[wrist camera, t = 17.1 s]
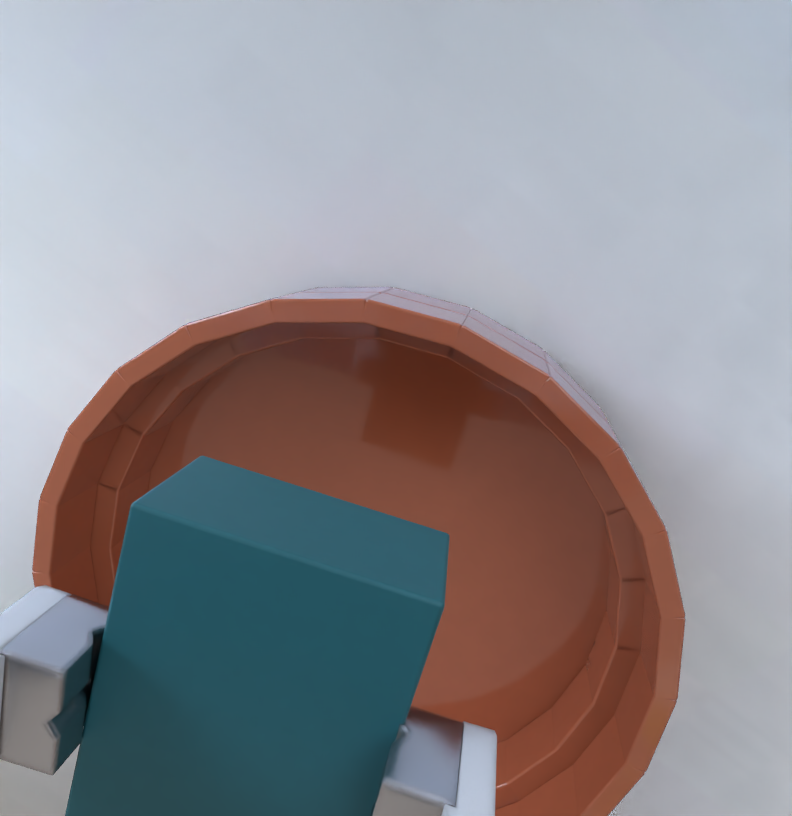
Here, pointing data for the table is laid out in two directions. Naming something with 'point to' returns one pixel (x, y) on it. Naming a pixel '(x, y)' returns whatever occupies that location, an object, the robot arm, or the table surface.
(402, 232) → the table surface
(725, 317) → the table surface
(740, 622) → the table surface
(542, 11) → the table surface
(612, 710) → the bowl
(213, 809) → the teal sponge
